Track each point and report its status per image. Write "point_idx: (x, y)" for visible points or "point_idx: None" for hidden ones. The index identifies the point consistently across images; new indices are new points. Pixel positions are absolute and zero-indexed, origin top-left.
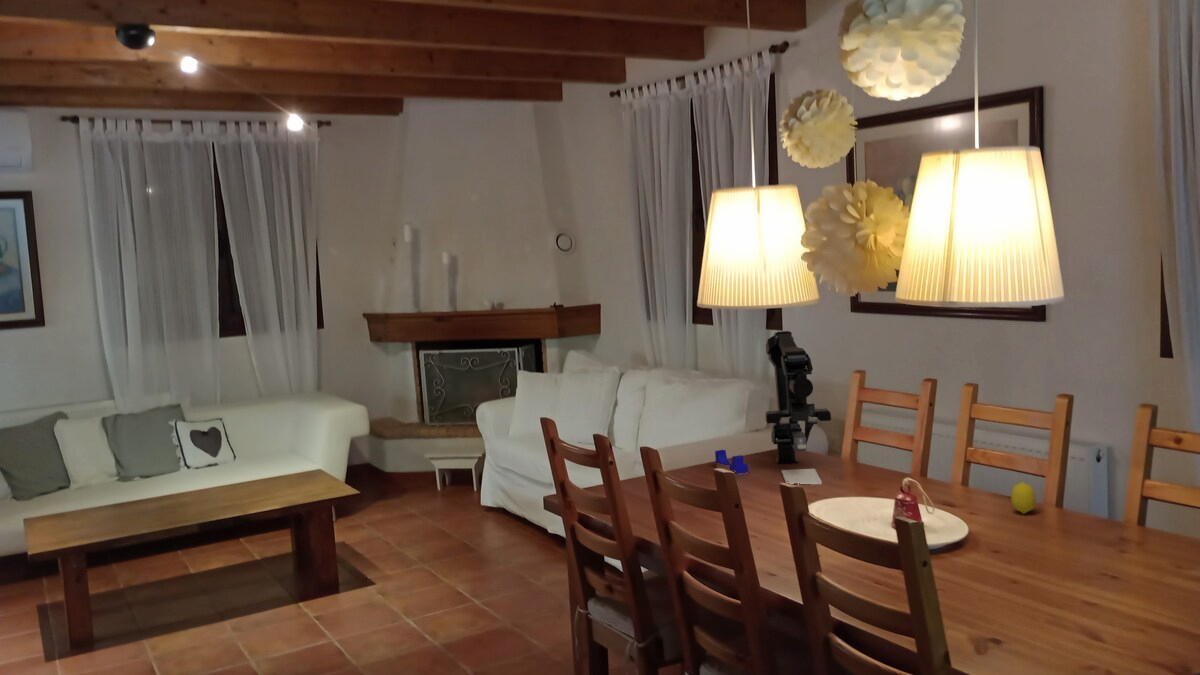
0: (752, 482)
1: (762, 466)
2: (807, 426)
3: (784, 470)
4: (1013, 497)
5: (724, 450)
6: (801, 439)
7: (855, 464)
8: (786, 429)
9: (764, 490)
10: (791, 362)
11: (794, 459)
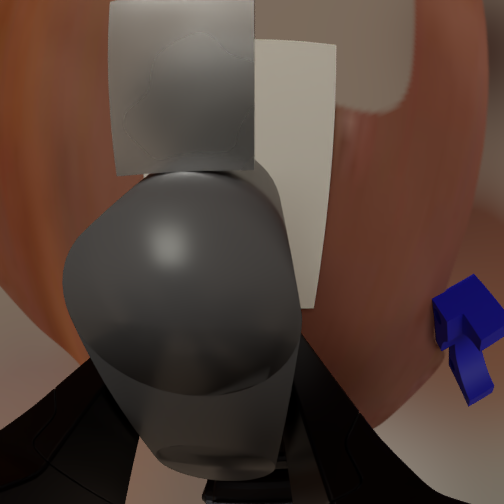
0: (464, 159)
1: (352, 376)
2: (11, 476)
3: (302, 299)
4: None
5: (472, 399)
6: (141, 192)
7: (59, 343)
8: (416, 479)
9: (435, 5)
10: None
11: None
